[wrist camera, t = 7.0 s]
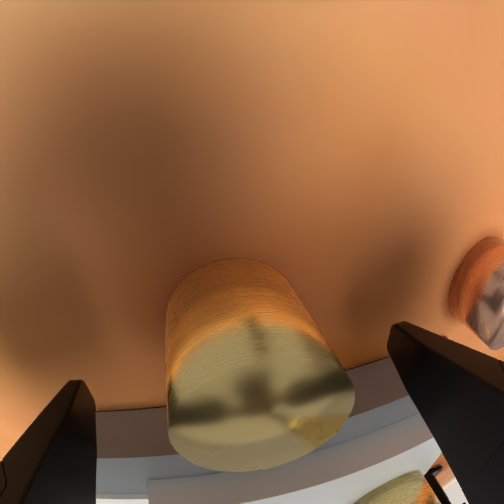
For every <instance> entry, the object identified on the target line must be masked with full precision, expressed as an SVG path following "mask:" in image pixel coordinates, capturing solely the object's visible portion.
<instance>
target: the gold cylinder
mask: <svg viewBox="0 0 504 504" xmlns="http://www.w3.org/2000/svg"><path fill="white" fill-rule="evenodd" d="M165 357H166V400H167V422H168V436H169V439H170V442H171V444H172V446H173V448H174V449H175V450H176V451H177V452H178V453H179V454H180V455H181V456H182V457H183V458H185V459H186V460H188V461H190V462H192V463H194V464H196V465H198V466H201V467H204V468H208V469H212V470H217V471H226V472H248V471H257V470H263V469H268V468H272V467H276V466H279V465H283V464H286V463H288V462H291V461H293V460H296V459H298V458H300V457H302V456H304V455H306V454H308V453H310V452H312V451H313V450H315V449H317V448H318V447H320V446H321V445H323V444H324V443H325V442H326V441H328V440H329V439H330V438H331V437H332V436H333V435H335V434H336V433H337V432H338V430H339V429H340V428H341V427H342V426H343V425H344V423H345V422H346V420H347V419H348V417H349V415H350V413H351V411H352V408H353V405H354V401H355V389H354V386H353V383H352V381H351V380H350V378H349V376H348V375H347V373H346V372H345V370H344V368H343V367H342V365H341V364H340V362H339V360H338V359H337V357H336V356H335V354H334V353H333V351H332V349H331V348H330V346H329V345H328V343H327V341H326V340H325V338H324V337H323V335H322V334H321V332H320V330H319V329H318V327H317V326H316V324H315V323H314V321H313V320H312V318H311V316H310V315H309V313H308V312H307V310H306V309H305V307H304V305H303V304H302V302H301V301H300V299H299V298H298V296H297V295H296V293H295V291H294V290H293V288H292V287H291V285H290V284H289V282H288V281H287V280H286V278H285V277H284V276H283V275H282V274H281V273H279V272H278V271H277V270H276V269H274V268H272V267H271V266H269V265H266V264H264V263H262V262H258V261H255V260H249V259H225V260H221V261H216V262H213V263H210V264H207V265H205V266H203V267H201V268H199V269H197V270H195V271H194V272H192V273H191V274H190V275H188V276H187V277H186V278H185V279H184V280H183V281H182V282H181V283H180V284H179V285H178V286H177V287H176V289H175V290H174V292H173V293H172V295H171V297H170V299H169V302H168V305H167V309H166V324H165Z"/></svg>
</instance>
